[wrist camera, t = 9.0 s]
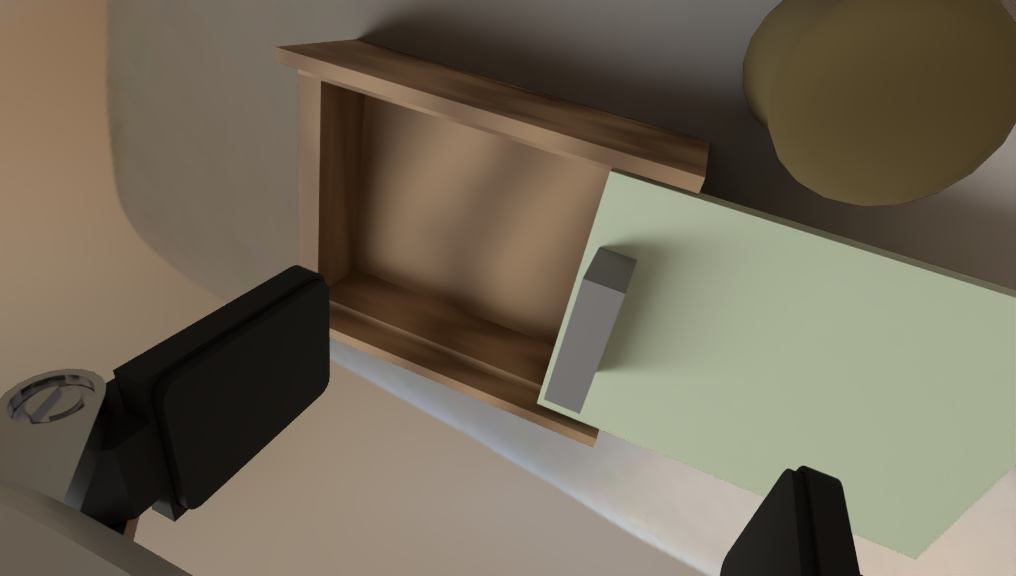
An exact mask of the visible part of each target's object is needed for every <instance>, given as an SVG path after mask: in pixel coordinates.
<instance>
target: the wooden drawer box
mask: <svg viewBox="0 0 1016 576" xmlns="http://www.w3.org/2000/svg"><path fill="white" fill-rule="evenodd" d="M275 50H276V62H277V63H280V64H283V65H287V66H290V67H293V68H296V69H298V150H299V266H302V267H304V268H307V269H309V270H312V271H314V272H317V273H319V274H321V275H323V277H324V279H325V283H326V284H327V285H328V286H329V301H330V337H331V338H333V339H336V340H338V341H340V342H343V343H345V344H347V345H350V346H352V347H355V348H357V349H359V350H362V351H364V352H366V353H369V354H371V355H374V356H376V357H378V358H381V359H383V360H386V361H388V362H390V363H393V364H395V365H397V366H400V367H402V368H405V369H407V370H409V371H412V372H414V373H416V374H419V375H421V376H424V377H426V378H428V379H431V380H433V381H436V382H438V383H440V384H443V385H445V386H447V387H450V388H452V389H455V390H457V391H459V392H462V393H464V394H466V395H469V396H471V397H474V398H476V399H478V400H481V401H483V402H486V403H488V404H490V405H493V406H495V407H497V408H500V409H502V410H505V411H507V412H509V413H512V414H514V415H516V416H519V417H521V418H524V419H526V420H528V421H531V422H533V423H536V424H538V425H540V426H543V427H545V428H547V429H550V430H552V431H555V432H557V433H559V434H562V435H564V436H566V437H569V438H571V439H574V440H576V441H578V442H581V443H583V444H586V445H588V446H590V447H593V446H594V443H595V441H596V438H597V435H598V432H599V429H598V428H595V427H593V426H590V425H588V424H586V423H583V422H581V421H578V420H576V419H573V418H571V417H569V416H566V415H564V414H561V413H559V412H556V411H554V410H552V409H549V408H547V407H544V406H542V405H540V404H537V401H538V398H539V395H540V391H541V388H542V385H543V382H544V379H545V376H546V372H547V369H548V366H549V363H550V360H551V357H552V353H553V350H554V347H555V344H556V341H557V338H558V334H559V331H560V328H561V325H562V322H563V319H564V315H565V312H566V309H567V306H568V303H569V300H570V296H571V293H572V290H573V287H574V284H575V281H576V277H577V274H578V271H579V268H580V265H581V262H582V258H583V255H584V252H585V249H586V246H587V243H588V239H589V236H590V233H591V230H592V227H593V224H594V220H595V217H596V214H597V211H598V208H599V205H600V201H601V198H602V195H603V192H604V189H605V186H606V182H607V179H608V176H609V173H610V170H611V169H612V168H613V167H615V168H618V169H621V170H624V171H628V172H631V173H634V174H637V175H641V176H644V177H647V178H650V179H653V180H657V181H660V182H663V183H666V184H670V185H673V186H676V187H679V188H682V189H686V190H689V191H692V192H695V193H698V194H699V192H700V189H701V187H702V185H703V182H704V180H705V176H706V168H707V159H708V151H709V142H707V141H704V140H700V139H697V138H693V137H690V136H686V135H683V134H680V133H676V132H673V131H669V130H666V129H662V128H659V127H655V126H652V125H649V124H645V123H642V122H638V121H635V120H631V119H628V118H625V117H621V116H618V115H614V114H611V113H607V112H604V111H600V110H597V109H594V108H590V107H587V106H583V105H580V104H576V103H573V102H570V101H566V100H563V99H559V98H556V97H552V96H549V95H545V94H542V93H539V92H535V91H532V90H528V89H525V88H521V87H518V86H515V85H511V84H508V83H504V82H501V81H497V80H494V79H490V78H487V77H484V76H480V75H477V74H473V73H470V72H466V71H463V70H460V69H456V68H453V67H449V66H446V65H442V64H439V63H435V62H432V61H429V60H425V59H422V58H418V57H415V56H411V55H408V54H404V53H401V52H398V51H394V50H391V49H387V48H384V47H380V46H377V45H374V44H370V43H367V42H363V41H360V40H356V39H354V40H344V41H333V42H322V43H312V44H301V45H291V46H280V47H275Z"/></svg>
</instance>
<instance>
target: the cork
mask: <svg viewBox="0 0 1016 576" xmlns="http://www.w3.org/2000/svg"><path fill="white" fill-rule="evenodd" d="M743 91H744V94H745V97H746V100H747V103H748V106H749V108H750V110H751V112H752V113H753V114H754V115H755V116H756V118H757V119H758V120H759V121H760V122H761V124H762V125H763V126H764V127H765V128H767V129H769V132H770V135H771V138H772V141H773V144H774V147H775V150H776V153H777V156H778V159H779V160H780V161H781V162H782V164H783V165H784V166H785V167H786V168H787V170H788V171H789V172H790V173H791V174H792V176H793V177H794V178H795V179H796V181H797V182H799V183H801V184H802V185H804V186H806V187H808V188H809V189H811V190H813V191H814V192H816V193H818V194H819V195H821V196H823V197H825V198H829V199H833V200H837V201H842V202H846V203H851V204H855V205H859V206H877V205H898V204H902V203H906V202H909V201H912V200H916V199H919V198H922V197H926V196H929V195H933V194H936V193H938V192H940V191H942V190H943V189H945V188H947V187H949V186H950V185H952V184H954V183H956V182H957V181H959V180H961V179H963V178H964V177H966V176H968V175H970V174H971V173H973V172H974V171H975V170H976V169H977V168H978V167H979V166H980V165H981V164H982V163H983V162H984V161H985V160H987V159H988V158H989V157H990V156H991V155H992V154H993V153H994V152H995V151H996V150H997V149H998V148H999V147H1000V146H1001V145H1002V144H1003V143H1004V141H1005V140H1006V138H1007V136H1008V135H1009V133H1010V131H1011V130H1012V128H1013V126H1014V125H1015V123H1016V23H1015V21H1014V20H1013V19H1012V17H1011V16H1010V14H1009V13H1008V12H1007V10H1006V9H1005V8H1004V6H1003V5H1002V4H1001V2H999V1H998V0H783V1H782V2H781V3H780V4H779V5H778V6H777V7H775V8H774V9H773V10H772V11H771V12H770V13H769V14H767V16H766V17H765V19H764V20H763V22H762V23H761V25H760V26H759V28H758V29H757V31H756V32H755V34H754V35H753V37H752V38H751V41H750V44H749V47H748V50H747V53H746V56H745V59H744V62H743Z"/></svg>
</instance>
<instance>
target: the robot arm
mask: <svg viewBox="0 0 1016 576" xmlns="http://www.w3.org/2000/svg"><path fill="white" fill-rule="evenodd" d="M329 364H330V301H329V286H328V285H327V284H326V283H325V279H324V277H323V275H321V274H319V273H317V272H314V271H312V270H309V269H307V268H304V267H302V266H299V265H295V266H292V267H290V268H288V269H286V270H285V271H283V272H281V273H280V274H278V275H276V276H274V277H273V278H271V279H269V280H268V281H266V282H264V283H262V284H261V285H259V286H257V287H256V288H254V289H252V290H250V291H249V292H247V293H245V294H243V295H242V296H240V297H238V298H237V299H235V300H233V301H231V302H230V303H228V304H226V305H225V306H223V307H221V308H219V309H218V310H216V311H214V312H213V313H211V314H209V315H207V316H206V317H204V318H202V319H201V320H199V321H197V322H195V323H194V324H192V325H190V326H189V327H187V328H185V329H183V330H182V331H180V332H178V333H176V334H175V335H173V336H171V337H170V338H168V339H167V340H165V341H163V342H161V343H159V344H158V345H156V346H154V347H152V348H151V349H149V350H147V351H146V352H144V353H142V354H140V355H139V356H137V357H135V358H133V359H132V360H130V361H128V362H127V363H125V364H123V365H122V366H120V367H118V368H116V369H115V370H113V372H114V375H115V378H114V379H112V380H111V381H109V382H107V383H105V381H104V380H103V378H102V377H101V376H99V375H98V374H96V373H95V372H92V371H88V370H84V369H62V370H55V371H49V372H46V373H43V374H39V375H36V376H33V377H31V378H29V379H27V380H24V381H23V382H20V383H18V384H17V385H15V386H14V387H12V388H11V389H10V390H8V391H7V392H6V393H5V394H4V395H3V396H2V397H1V398H0V576H192V575H191V574H189V573H187V572H185V571H184V570H182V569H180V568H179V567H177V566H175V565H173V564H172V563H170V562H168V561H167V560H165V559H163V558H161V557H160V556H158V555H156V554H154V553H153V552H151V551H149V550H148V549H146V548H144V547H143V546H141V545H139V544H137V543H136V542H134V537H135V532H136V529H137V524H138V521H139V517H140V515H141V514H142V513H143V512H144V511H146V510H147V509H148V508H149V507H150V506H152V509H153V510H155V511H157V512H158V513H160V514H162V515H164V516H165V517H167V518H169V519H171V520H172V521H174V522H175V521H176V520H177V519H178V518H179V517H180V516H182V515H183V514H184V513H185V512H186V511H187V510H188V509H196V508H198V507H199V506H201V505H202V504H203V503H204V502H205V501H207V500H208V499H209V498H210V497H211V496H212V495H213V494H214V493H215V492H216V491H217V490H218V489H219V488H221V487H222V486H223V485H224V484H225V483H226V482H227V481H228V480H229V479H230V478H231V477H233V476H234V475H235V474H236V473H237V472H238V471H239V470H240V469H241V468H242V467H243V466H244V465H246V464H247V463H248V462H249V461H250V460H251V459H252V458H253V457H254V456H255V455H256V454H257V453H259V452H260V451H261V450H262V449H263V448H264V447H265V446H266V445H267V444H268V443H269V442H270V441H272V440H273V439H274V438H275V437H276V436H277V435H278V434H279V433H280V432H281V431H282V430H283V429H284V428H286V427H287V426H288V425H289V424H290V423H291V422H292V421H293V420H294V419H295V418H296V417H298V416H299V415H300V414H301V413H302V412H303V411H304V410H305V409H306V408H307V407H308V406H310V405H311V404H312V403H313V402H314V401H315V400H316V399H317V398H318V397H319V396H320V395H321V394H322V393H323V392H324V391H325V389H326V387H327V385H328V383H329V377H330V371H329V370H330V365H329ZM720 576H863V575H860V571H859V566H858V561H857V556H856V551H855V546H854V541H853V536H852V531H851V525H850V520H849V515H848V510H847V505H846V500H845V495H844V490H843V486H842V483H841V481H840V480H839V479H838V478H835V477H833V476H830V475H827V474H825V473H822V472H820V471H817V470H815V469H812V468H810V467H807V466H803V465H802V466H800V467H799V468H798V469H797V470H796V471H794V470H792V469H788V468H787V469H786V470H784V472H783V473H782V474H781V476H780V477H779V479H778V480H777V482H776V483H775V485H774V486H773V487H772V489H771V490H770V492H769V493H768V495H767V496H766V498H765V499H764V501H763V502H762V504H761V505H760V507H759V508H758V509H757V511H756V512H755V514H754V515H753V517H752V518H751V520H750V521H749V523H748V524H747V526H746V527H745V529H744V530H743V531H742V533H741V534H740V536H739V537H738V539H737V540H736V542H735V543H734V545H733V546H732V548H731V549H730V551H729V552H728V553H727V555H726V557H725V559H724V561H723V564H722V568H721V573H720Z"/></svg>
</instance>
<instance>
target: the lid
mask: <svg viewBox="0 0 1016 576" xmlns="http://www.w3.org/2000/svg"><path fill="white" fill-rule="evenodd" d="M537 404H540V405H542V406H544V407H547V408H549V409H552V410H554V411H556V412H559V413H561V414H564V415H566V416H569V417H571V418H573V419H576V420H578V421H581V422H583V423H586V424H588V425H590V426H593V427H595V428H598V429H600V430H603V431H605V432H607V433H610V434H612V435H615V436H617V437H620V438H622V439H624V440H627V441H629V442H632V443H634V444H637V445H639V446H641V447H644V448H646V449H649V450H651V451H654V452H656V453H658V454H661V455H663V456H666V457H668V458H671V459H673V460H675V461H678V462H680V463H683V464H685V465H688V466H690V467H692V468H695V469H697V470H700V471H702V472H705V473H707V474H709V475H712V476H714V477H717V478H719V479H722V480H724V481H726V482H729V483H731V484H734V485H736V486H739V487H741V488H743V489H746V490H748V491H751V492H753V493H756V494H758V495H760V496H763V497H765V498H766V496H767V495H768V493H769V492H770V490H771V489H772V487H773V486H774V485H775V483H776V482H777V480H778V479H779V477H780V476H781V474H782V473H783V472H784V470H786V469H787V468H788V469H792V470H794V471H796V470H797V469H798V468H799V467H800V466H802V465H803V466H807V467H810V468H812V469H815V470H817V471H820V472H822V473H825V474H827V475H830V476H833V477H835V478H838V479H839V480H840V481H841V483H842V486H843V490H844V495H845V500H846V505H847V510H848V515H849V520H850V525H851V531H852V533H853V534H855V535H857V536H860V537H862V538H865V539H867V540H870V541H872V542H874V543H877V544H879V545H882V546H884V547H887V548H889V549H891V550H894V551H896V552H899V553H901V554H904V555H906V556H908V557H911V558H913V559H917V558H918V557H919V556H920V555H921V554H922V553H923V552H924V551H925V550H926V549H927V548H928V547H929V546H930V545H931V544H932V543H934V542H935V541H936V540H937V539H938V538H939V537H940V536H941V535H942V534H943V533H944V532H945V531H946V530H947V529H948V528H949V527H950V526H951V525H953V524H954V523H955V522H956V521H957V520H958V519H959V518H960V517H961V516H962V515H963V514H964V513H965V512H966V511H967V510H968V509H969V508H970V507H972V506H973V505H974V504H975V503H976V502H977V501H978V500H979V499H980V498H981V497H982V496H983V495H984V494H985V493H986V492H987V491H988V490H989V489H990V488H992V487H993V486H994V485H995V484H996V483H997V482H998V481H999V480H1000V479H1001V478H1002V477H1003V476H1004V475H1005V474H1006V473H1007V472H1008V471H1009V470H1011V469H1012V468H1013V467H1014V466H1015V465H1016V290H1013V289H1010V288H1006V287H1003V286H1000V285H997V284H993V283H990V282H987V281H984V280H981V279H977V278H974V277H971V276H968V275H964V274H961V273H958V272H955V271H951V270H948V269H945V268H942V267H939V266H935V265H932V264H929V263H926V262H922V261H919V260H916V259H913V258H910V257H906V256H903V255H900V254H897V253H893V252H890V251H887V250H884V249H881V248H877V247H874V246H871V245H868V244H864V243H861V242H858V241H855V240H852V239H848V238H845V237H842V236H839V235H835V234H832V233H829V232H826V231H823V230H819V229H816V228H813V227H810V226H806V225H803V224H800V223H797V222H794V221H790V220H787V219H784V218H781V217H777V216H774V215H771V214H768V213H765V212H761V211H758V210H755V209H752V208H748V207H745V206H742V205H739V204H736V203H732V202H729V201H726V200H723V199H719V198H716V197H713V196H710V195H707V194H703V193H700V192H699V194H698V193H695V192H692V191H689V190H686V189H682V188H679V187H676V186H673V185H670V184H666V183H663V182H660V181H657V180H653V179H650V178H647V177H644V176H641V175H637V174H634V173H631V172H628V171H624V170H621V169H618V168H615V167H613V168H612V169H611V170H610V173H609V176H608V179H607V182H606V186H605V189H604V192H603V195H602V198H601V201H600V205H599V208H598V211H597V214H596V217H595V220H594V224H593V227H592V230H591V233H590V236H589V239H588V243H587V246H586V249H585V252H584V255H583V258H582V262H581V265H580V268H579V271H578V274H577V277H576V281H575V284H574V287H573V290H572V293H571V296H570V300H569V303H568V306H567V309H566V312H565V315H564V319H563V322H562V325H561V328H560V331H559V334H558V338H557V341H556V344H555V347H554V350H553V353H552V357H551V360H550V363H549V366H548V369H547V372H546V376H545V379H544V382H543V385H542V388H541V391H540V395H539V398H538V401H537Z"/></svg>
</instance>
